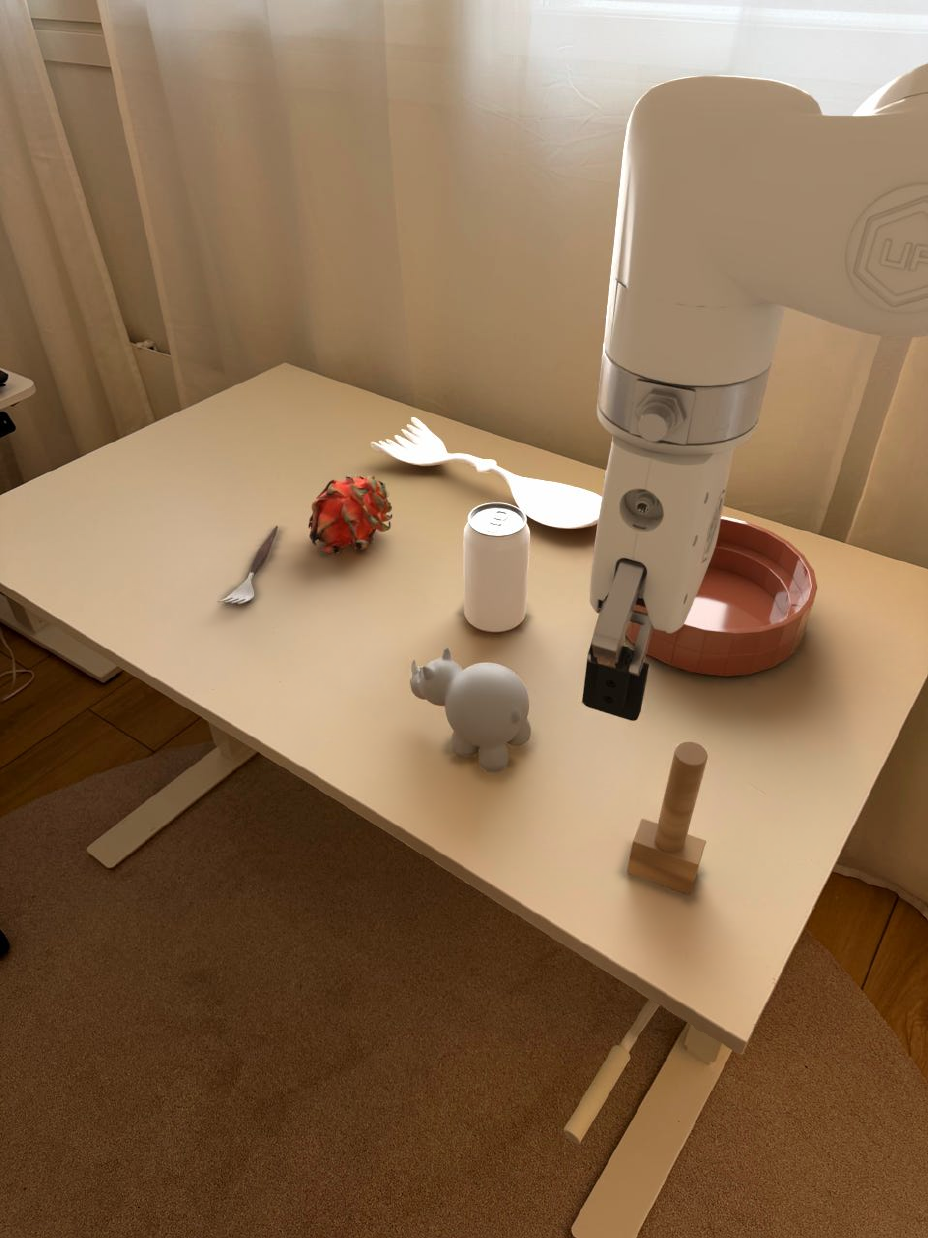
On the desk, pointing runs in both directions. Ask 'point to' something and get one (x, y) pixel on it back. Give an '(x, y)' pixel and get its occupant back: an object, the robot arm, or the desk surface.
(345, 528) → the dragon fruit
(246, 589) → the fork
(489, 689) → the chubby cartoon animal
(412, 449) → the spoon
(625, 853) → the desk surface
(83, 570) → the desk surface
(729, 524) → the bowl
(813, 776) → the desk surface
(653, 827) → the wooden stamp
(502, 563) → the can
